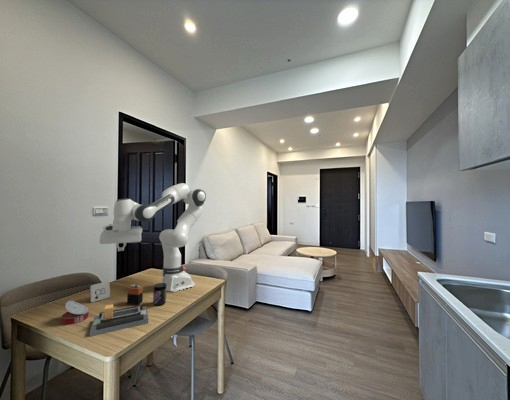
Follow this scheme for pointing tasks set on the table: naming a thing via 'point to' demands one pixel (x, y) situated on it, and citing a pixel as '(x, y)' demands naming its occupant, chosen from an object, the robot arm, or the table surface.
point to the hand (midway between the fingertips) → (120, 250)
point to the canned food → (74, 313)
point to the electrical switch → (100, 291)
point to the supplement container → (159, 294)
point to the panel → (117, 327)
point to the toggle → (108, 311)
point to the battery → (135, 294)
